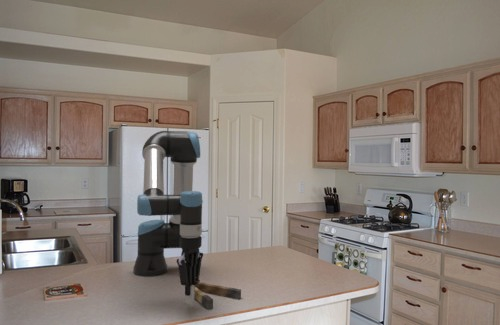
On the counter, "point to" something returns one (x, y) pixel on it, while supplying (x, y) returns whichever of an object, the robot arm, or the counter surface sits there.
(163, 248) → the robot arm
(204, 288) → the base
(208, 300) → the tong arm
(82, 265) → the counter surface
